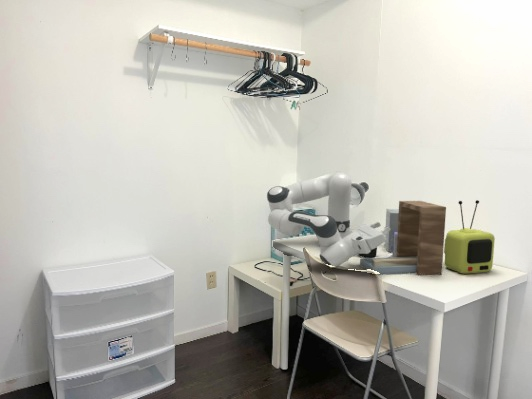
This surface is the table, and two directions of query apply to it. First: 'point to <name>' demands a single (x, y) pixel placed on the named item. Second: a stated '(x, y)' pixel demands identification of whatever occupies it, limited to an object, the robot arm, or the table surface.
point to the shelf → (422, 235)
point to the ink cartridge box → (394, 244)
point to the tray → (367, 264)
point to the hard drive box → (391, 227)
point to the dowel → (394, 262)
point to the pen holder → (369, 254)
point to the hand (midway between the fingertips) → (384, 225)
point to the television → (469, 249)
